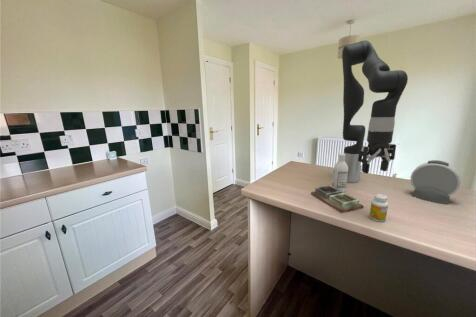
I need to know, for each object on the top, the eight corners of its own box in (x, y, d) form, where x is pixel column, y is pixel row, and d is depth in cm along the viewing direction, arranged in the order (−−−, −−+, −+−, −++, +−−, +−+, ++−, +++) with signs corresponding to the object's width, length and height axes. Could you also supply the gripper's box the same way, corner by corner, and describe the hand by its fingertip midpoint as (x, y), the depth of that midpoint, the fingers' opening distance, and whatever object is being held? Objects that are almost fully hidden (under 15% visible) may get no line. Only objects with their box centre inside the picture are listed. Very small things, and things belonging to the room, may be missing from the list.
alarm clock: (455, 199, 89) (465, 162, 85) (454, 207, 83) (465, 167, 78) (409, 189, 101) (416, 156, 97) (406, 195, 95) (413, 160, 90)
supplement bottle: (366, 215, 80) (369, 193, 77) (378, 214, 80) (381, 192, 78) (376, 222, 75) (379, 199, 72) (389, 221, 75) (393, 198, 73)
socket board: (329, 190, 104) (330, 184, 103) (363, 207, 85) (364, 200, 84) (311, 194, 101) (311, 187, 100) (341, 213, 82) (342, 205, 81)
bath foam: (348, 190, 103) (353, 154, 98) (340, 193, 100) (344, 156, 95) (337, 186, 109) (340, 152, 104) (328, 189, 106) (331, 153, 101)
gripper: (386, 127, 75) (380, 167, 79) (355, 129, 73) (351, 170, 76) (406, 129, 68) (399, 172, 72) (373, 131, 65) (367, 176, 69)
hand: (374, 171), depth 74 cm, fingers open, 8 cm apart
